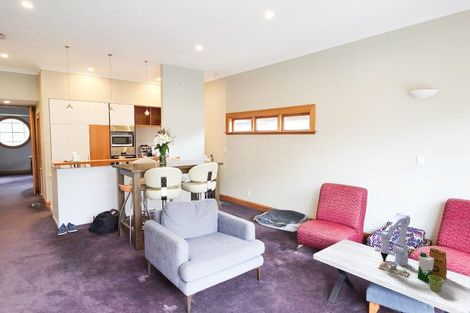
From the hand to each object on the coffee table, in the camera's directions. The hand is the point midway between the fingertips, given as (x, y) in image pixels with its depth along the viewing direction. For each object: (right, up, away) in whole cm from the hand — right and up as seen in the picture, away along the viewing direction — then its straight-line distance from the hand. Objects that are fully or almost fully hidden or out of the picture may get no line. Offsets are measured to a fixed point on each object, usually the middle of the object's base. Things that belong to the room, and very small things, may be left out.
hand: (384, 261), depth 231 cm
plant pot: (+20, -9, -32) cm, 39 cm away
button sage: (+11, -7, -9) cm, 15 cm away
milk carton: (+23, -8, -17) cm, 29 cm away
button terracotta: (0, -4, 0) cm, 4 cm away
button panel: (+5, -6, -4) cm, 9 cm away
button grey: (+5, -5, -4) cm, 8 cm away
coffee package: (+36, -8, -12) cm, 39 cm away
